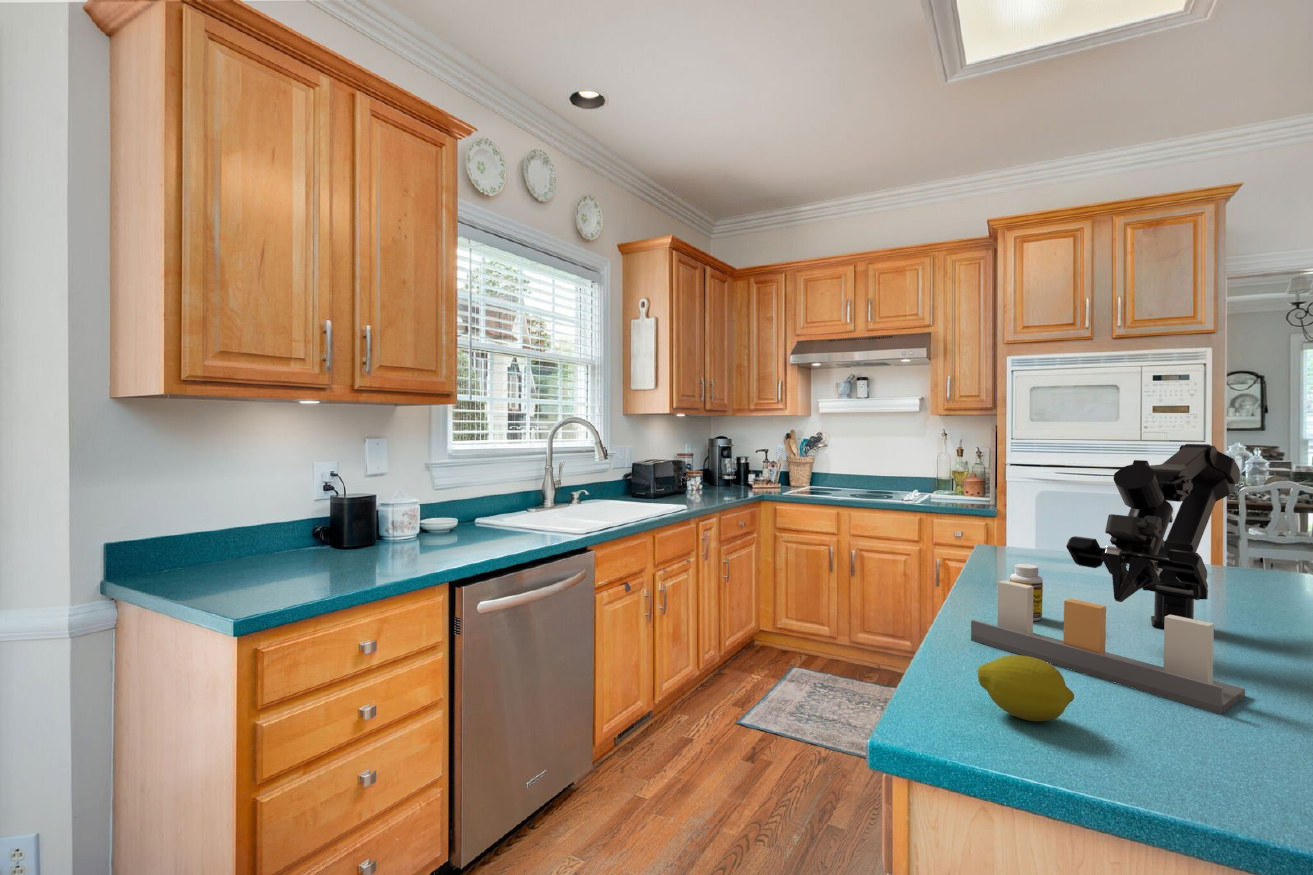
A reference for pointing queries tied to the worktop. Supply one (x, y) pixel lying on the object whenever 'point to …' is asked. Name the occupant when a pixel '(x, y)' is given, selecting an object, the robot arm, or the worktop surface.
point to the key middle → (1085, 625)
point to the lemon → (1026, 687)
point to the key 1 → (1015, 607)
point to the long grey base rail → (1111, 668)
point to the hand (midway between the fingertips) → (1117, 600)
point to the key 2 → (1188, 648)
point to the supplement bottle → (1029, 577)
